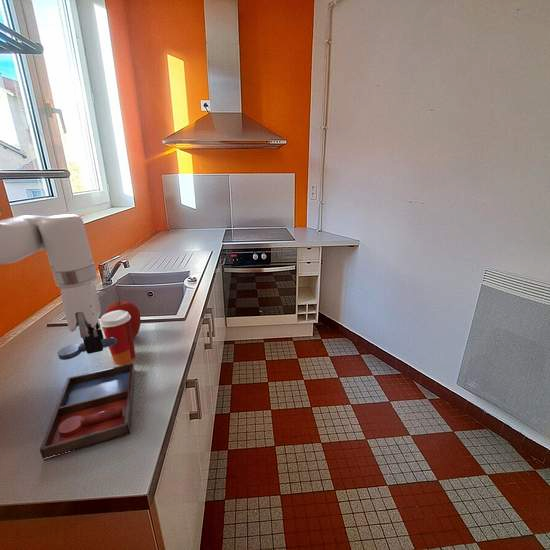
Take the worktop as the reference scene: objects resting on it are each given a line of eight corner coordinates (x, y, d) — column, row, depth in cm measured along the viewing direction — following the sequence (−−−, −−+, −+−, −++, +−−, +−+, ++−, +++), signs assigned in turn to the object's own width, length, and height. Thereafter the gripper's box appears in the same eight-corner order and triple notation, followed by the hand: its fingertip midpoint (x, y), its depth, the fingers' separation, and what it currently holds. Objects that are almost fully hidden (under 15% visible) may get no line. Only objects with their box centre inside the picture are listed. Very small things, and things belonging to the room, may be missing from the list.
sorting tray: (43, 460, 57) (39, 450, 56) (70, 386, 76) (67, 377, 75) (130, 434, 62) (127, 424, 61) (135, 371, 81) (133, 362, 80)
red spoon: (124, 407, 68) (122, 400, 67) (122, 421, 64) (120, 414, 63) (62, 423, 64) (60, 416, 63) (57, 440, 60) (54, 432, 59)
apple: (151, 334, 99) (143, 295, 94) (124, 350, 90) (115, 308, 86) (129, 327, 103) (121, 290, 98) (102, 342, 95) (92, 302, 90)
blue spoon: (118, 339, 73) (116, 332, 73) (116, 349, 69) (115, 341, 69) (61, 351, 69) (59, 343, 69) (56, 362, 66) (53, 354, 65)
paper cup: (127, 348, 91) (117, 307, 86) (145, 354, 88) (136, 312, 83) (103, 363, 85) (91, 319, 80) (122, 370, 81) (110, 325, 76)
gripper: (64, 266, 69) (84, 335, 76) (42, 291, 55) (69, 373, 62) (101, 261, 72) (117, 329, 78) (89, 284, 58) (110, 364, 64)
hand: (96, 348), depth 70 cm, fingers closed on blue spoon, 2 cm apart
